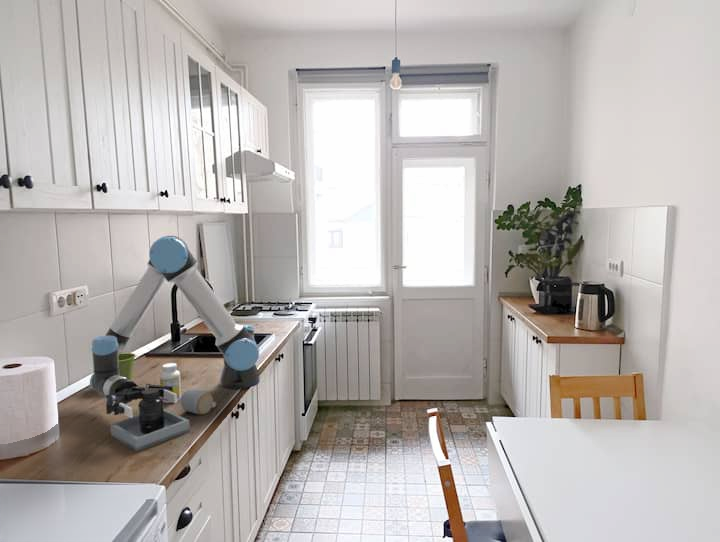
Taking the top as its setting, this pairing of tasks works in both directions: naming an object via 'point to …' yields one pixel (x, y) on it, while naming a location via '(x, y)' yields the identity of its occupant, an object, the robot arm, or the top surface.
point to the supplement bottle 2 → (171, 379)
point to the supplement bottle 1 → (151, 411)
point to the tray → (138, 441)
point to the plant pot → (126, 365)
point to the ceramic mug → (197, 401)
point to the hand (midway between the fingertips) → (154, 405)
